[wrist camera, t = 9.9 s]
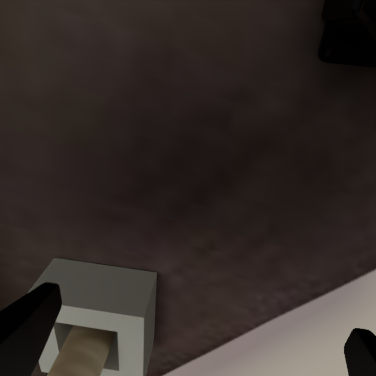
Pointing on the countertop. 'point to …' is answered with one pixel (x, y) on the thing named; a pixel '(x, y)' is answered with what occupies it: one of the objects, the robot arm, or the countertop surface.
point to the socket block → (104, 311)
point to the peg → (83, 352)
